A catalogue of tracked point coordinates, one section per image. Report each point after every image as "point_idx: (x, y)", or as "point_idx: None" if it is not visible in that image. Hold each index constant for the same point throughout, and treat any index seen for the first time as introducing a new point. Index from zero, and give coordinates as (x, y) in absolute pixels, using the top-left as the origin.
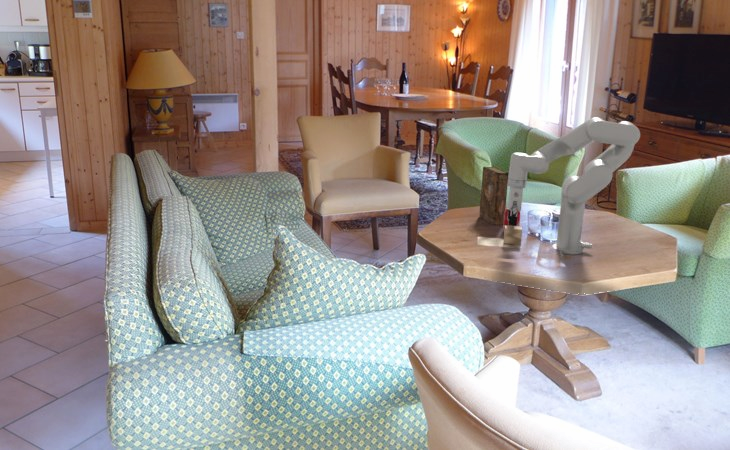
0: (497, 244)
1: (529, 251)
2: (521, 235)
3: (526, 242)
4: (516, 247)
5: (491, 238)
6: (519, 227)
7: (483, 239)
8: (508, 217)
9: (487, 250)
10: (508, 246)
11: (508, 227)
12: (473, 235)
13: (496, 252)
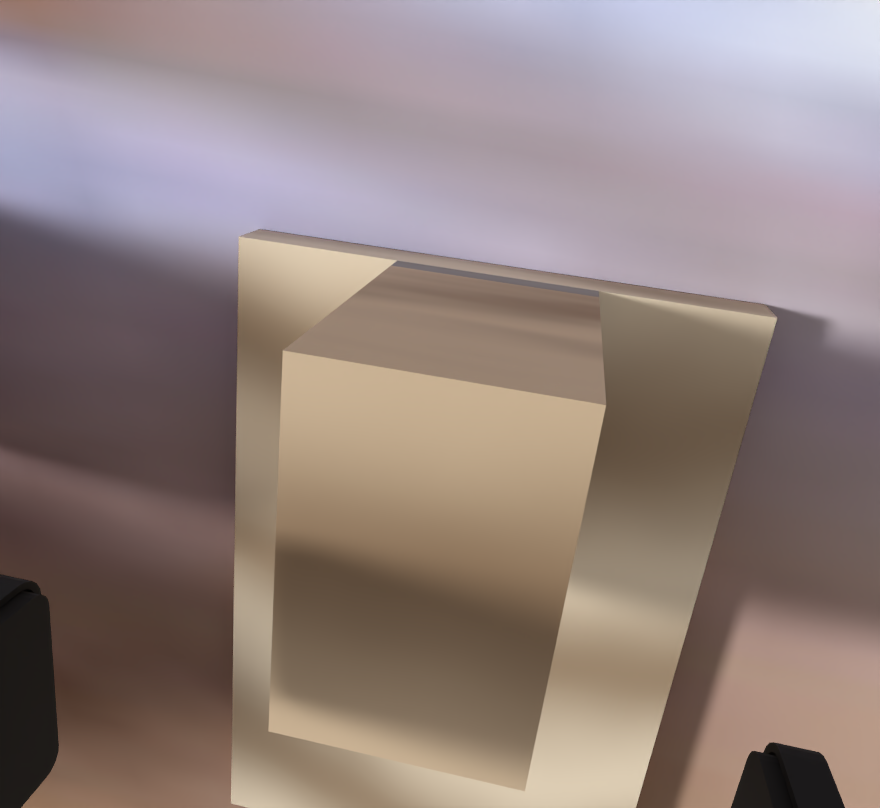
0: (562, 654)
1: (785, 135)
2: (602, 354)
3: (226, 93)
4: (719, 393)
5: (268, 662)
6: (378, 433)
7: (339, 769)
8: (30, 791)
9: (724, 777)
10: (662, 516)
11: (424, 701)
12: (98, 775)
13: (825, 691)
